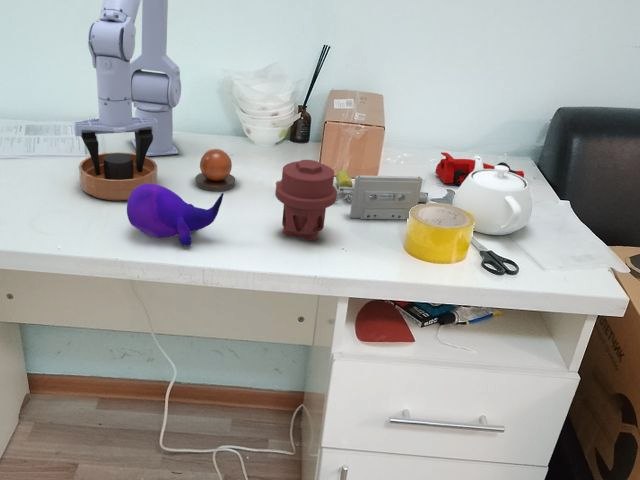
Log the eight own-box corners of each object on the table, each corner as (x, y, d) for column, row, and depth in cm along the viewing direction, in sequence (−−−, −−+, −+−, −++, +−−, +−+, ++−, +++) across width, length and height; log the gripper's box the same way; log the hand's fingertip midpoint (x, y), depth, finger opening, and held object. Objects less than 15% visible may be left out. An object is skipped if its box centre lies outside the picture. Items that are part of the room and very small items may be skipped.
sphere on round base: (190, 177, 139) (191, 144, 136) (228, 174, 142) (229, 141, 138) (201, 192, 134) (202, 158, 130) (240, 189, 136) (242, 155, 132)
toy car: (526, 186, 147) (533, 162, 144) (444, 186, 144) (449, 161, 141) (513, 174, 151) (520, 151, 148) (434, 174, 149) (439, 151, 146)
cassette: (350, 219, 128) (356, 178, 124) (348, 214, 129) (354, 174, 125) (416, 220, 129) (424, 179, 125) (413, 215, 131) (421, 175, 127)
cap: (102, 179, 134) (101, 153, 132) (130, 177, 136) (129, 152, 133) (107, 190, 130) (106, 164, 128) (136, 188, 132) (135, 162, 129)
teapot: (546, 251, 122) (566, 191, 116) (469, 249, 121) (484, 189, 115) (499, 198, 140) (514, 144, 134) (431, 197, 139) (443, 142, 132)
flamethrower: (273, 177, 140) (276, 201, 132) (274, 165, 139) (277, 187, 131) (419, 187, 143) (430, 210, 135) (422, 174, 141) (434, 197, 133)
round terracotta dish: (75, 175, 137) (73, 154, 134) (148, 170, 141) (147, 150, 139) (87, 205, 126) (85, 183, 124) (165, 198, 130) (165, 177, 128)
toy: (219, 235, 122) (133, 216, 122) (228, 182, 116) (137, 163, 116) (210, 259, 115) (119, 239, 115) (219, 204, 109) (122, 183, 109)
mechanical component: (300, 216, 128) (343, 236, 122) (260, 231, 122) (303, 253, 116) (307, 148, 121) (353, 166, 115) (265, 160, 115) (311, 180, 109)
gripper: (75, 104, 119) (81, 183, 127) (161, 101, 123) (162, 177, 131) (69, 92, 124) (75, 168, 132) (152, 89, 129) (153, 163, 136)
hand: (118, 171), depth 132 cm, fingers open, 7 cm apart
